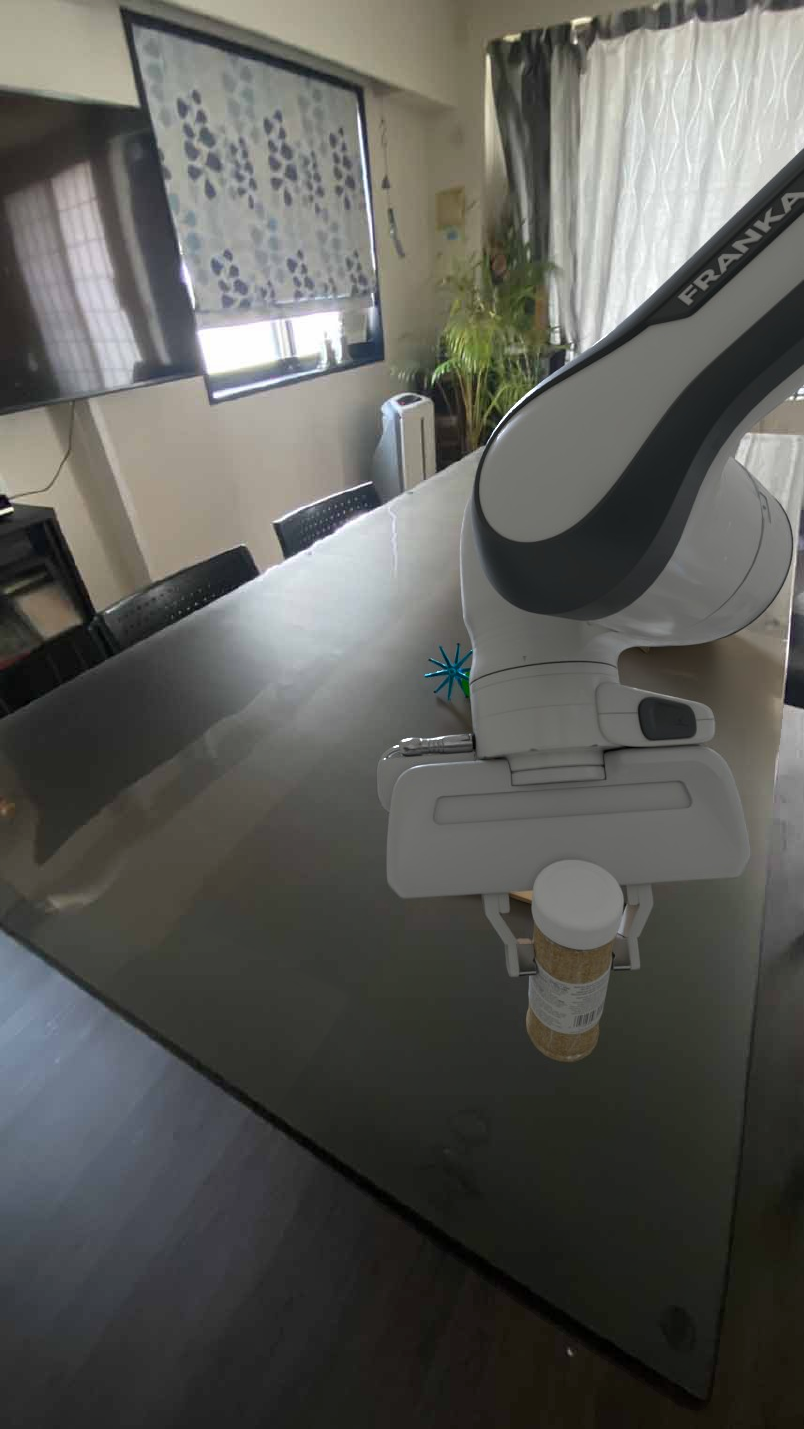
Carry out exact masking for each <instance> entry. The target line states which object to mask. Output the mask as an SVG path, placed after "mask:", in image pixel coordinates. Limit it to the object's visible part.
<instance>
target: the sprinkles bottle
mask: <svg viewBox="0 0 804 1429" xmlns="http://www.w3.org/2000/svg"><path fill="white" fill-rule="evenodd" d="M624 904H625V903H624V899H623V893H622V890H621V888H620V886H619V884H618V882H617V881H616V880H615V878H614V877H613V876H612V875H611V874H610V873H608V872H607V871H606V870H604V869H603V868H601V867H600V866H598V865H595V864H593V863H590V862H586V861H582V860H562V861H558V862H555V863H552V864H550V865H549V866H547V867H546V868H544V869H543V870H542V871H541V872H540V873H539V875H538V876H537V878H536V880H535V882H534V886H533V894H532V904H531V914H532V919H533V930H532V932H533V933H532V940H531V942H533V944H534V951H535V957H534V959H533V961H534V963H535V964H536V975H535V976H528V993H527V994H528V1009H527V1011H526V1016H525V1023H526V1024H525V1025H526V1033H527V1034H528V1036H529V1040H531V1042H532V1044H533V1045H534V1046H535V1048H536V1049H537V1050H538V1051H539V1052H541V1053H542V1054H543V1055H544V1056H545V1057H548V1058H550V1059H551V1060H555V1061H559V1062H562V1063H563V1062H565V1063H574V1062H577V1061H581V1060H583V1059H584V1058H585V1057H587V1056H589V1055H590V1054H591V1053H592V1052H593V1050H594V1049H595V1047H596V1046H597V1043H598V1041H599V1040H598V1039H599V1035H600V1026H599V1025H600V1019H601V1017H602V1015H603V1011H604V1007H605V1001H606V997H607V990H608V985H609V980H610V975H611V964H612V950H613V943H614V938H615V936H616V934H617V933H618V931H619V928H620V924H621V919H622V915H623V913H624Z"/></svg>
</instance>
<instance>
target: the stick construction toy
mask: <svg viewBox="0 0 804 1429" xmlns="http://www.w3.org/2000/svg"><path fill="white" fill-rule="evenodd" d="M438 649H439V652H440V654H441V656H442V658H443V660H444V663H445V664H444V663H442V662H440V661H437V660H435V659H432V658H428V659H427V661H428V662H430V663H432V664H434V665H435V666H437V667H439V668H441V669H442V670H441V671H437V672H433V673H429V674H428V673H427V674H425V675H424V676H423V678H425V679H430V678H438V677H445V679H444V680H443V681H442V682H441V683H440V684H439V685H438V687H436V689H435V690H433V694H438V693H439V692H440V691H441V690H442V689H443V688H444V687H445V686H446V685H447V684H448V686H447V697H446V701H448V702H451V701H452V699H451V698H452V693H453V687H454V683H455V681H456V683H457V684H458V686H459V688H460V689H461V691H462V693H463V695H464V698H465V699H470V687H469V676H470V671H471V667H472V666H470V667H463V665H465V663H466V661H468V659H469V658H470V657H471V656H473V649H470V650H469V652H467V654H466V655H464V656H463V657H462V658H461V659H460V655H461V643H460V642H457V643H456V649H455V655H454V660H453V663H452V661H451V660H450V658H449V657H448V655H447V653H446V652H445V649H444V647H443V646H442V645H438ZM462 667H463V668H462Z"/></svg>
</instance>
